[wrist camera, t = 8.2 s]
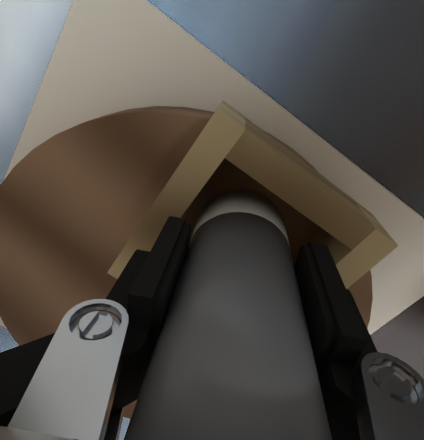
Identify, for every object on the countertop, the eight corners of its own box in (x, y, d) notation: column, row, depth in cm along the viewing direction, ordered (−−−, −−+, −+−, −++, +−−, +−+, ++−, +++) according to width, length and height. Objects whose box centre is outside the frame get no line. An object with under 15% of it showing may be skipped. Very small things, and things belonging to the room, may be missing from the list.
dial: (100, -2, 12) (25, -35, 8) (447, 264, 15) (517, 335, 11) (-29, 303, 20) (-100, 364, 16) (218, 435, 23) (211, 513, 19)
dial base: (106, -32, 13) (87, -45, 12) (456, 243, 17) (476, 261, 15) (-27, 287, 22) (-47, 304, 20) (223, 422, 25) (221, 445, 24)
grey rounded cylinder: (230, 172, 12) (172, 497, 3) (304, 224, 13) (440, 624, 4) (179, 238, 13) (40, 587, 4) (248, 282, 14) (245, 665, 5)
